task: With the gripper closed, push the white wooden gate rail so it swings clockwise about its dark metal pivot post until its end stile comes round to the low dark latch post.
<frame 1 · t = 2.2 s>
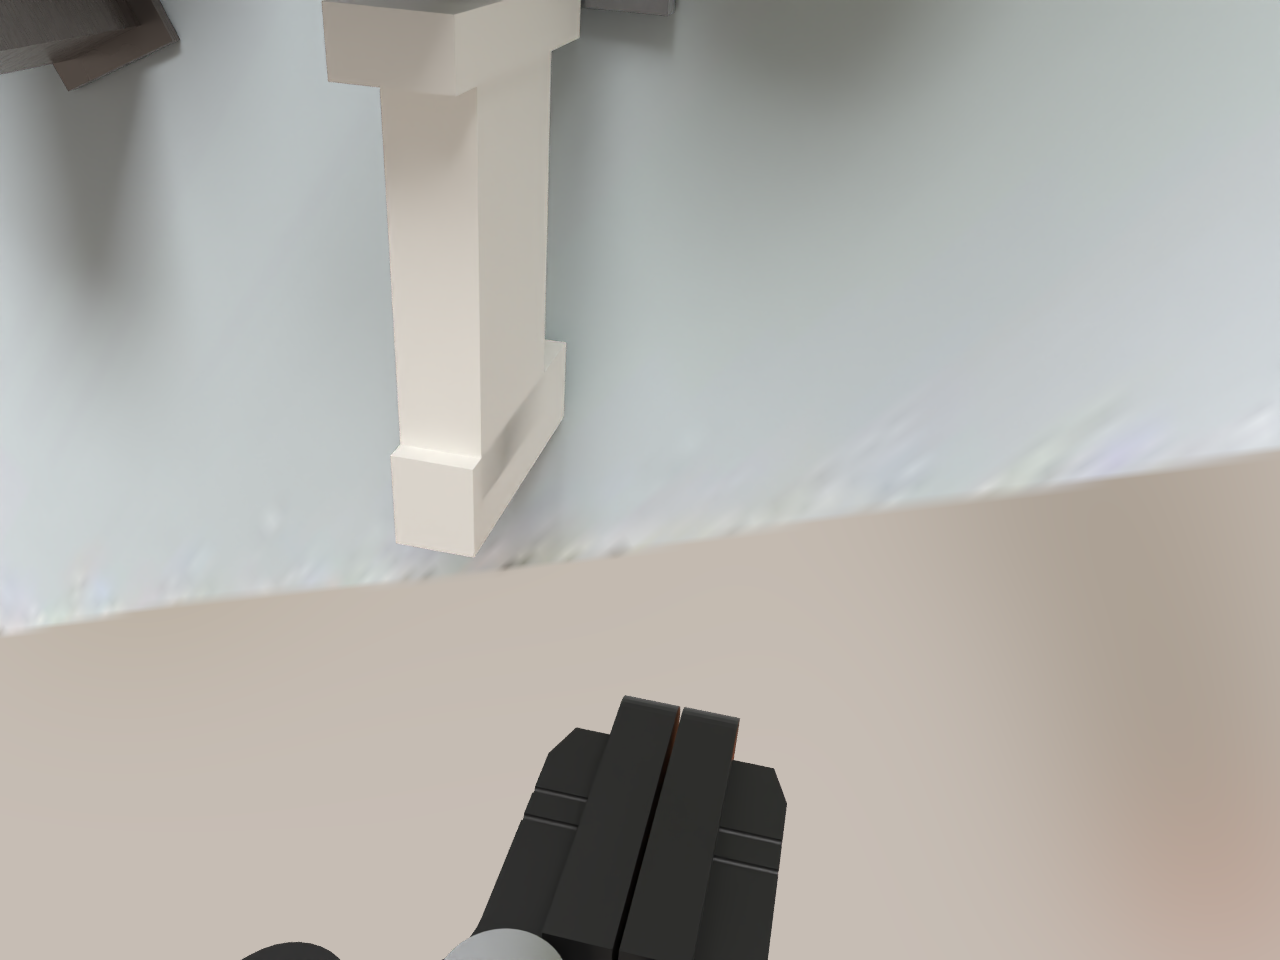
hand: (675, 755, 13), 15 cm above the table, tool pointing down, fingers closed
gate: (479, 265, 22), point 5 cm above the table, hinge at 0.0°
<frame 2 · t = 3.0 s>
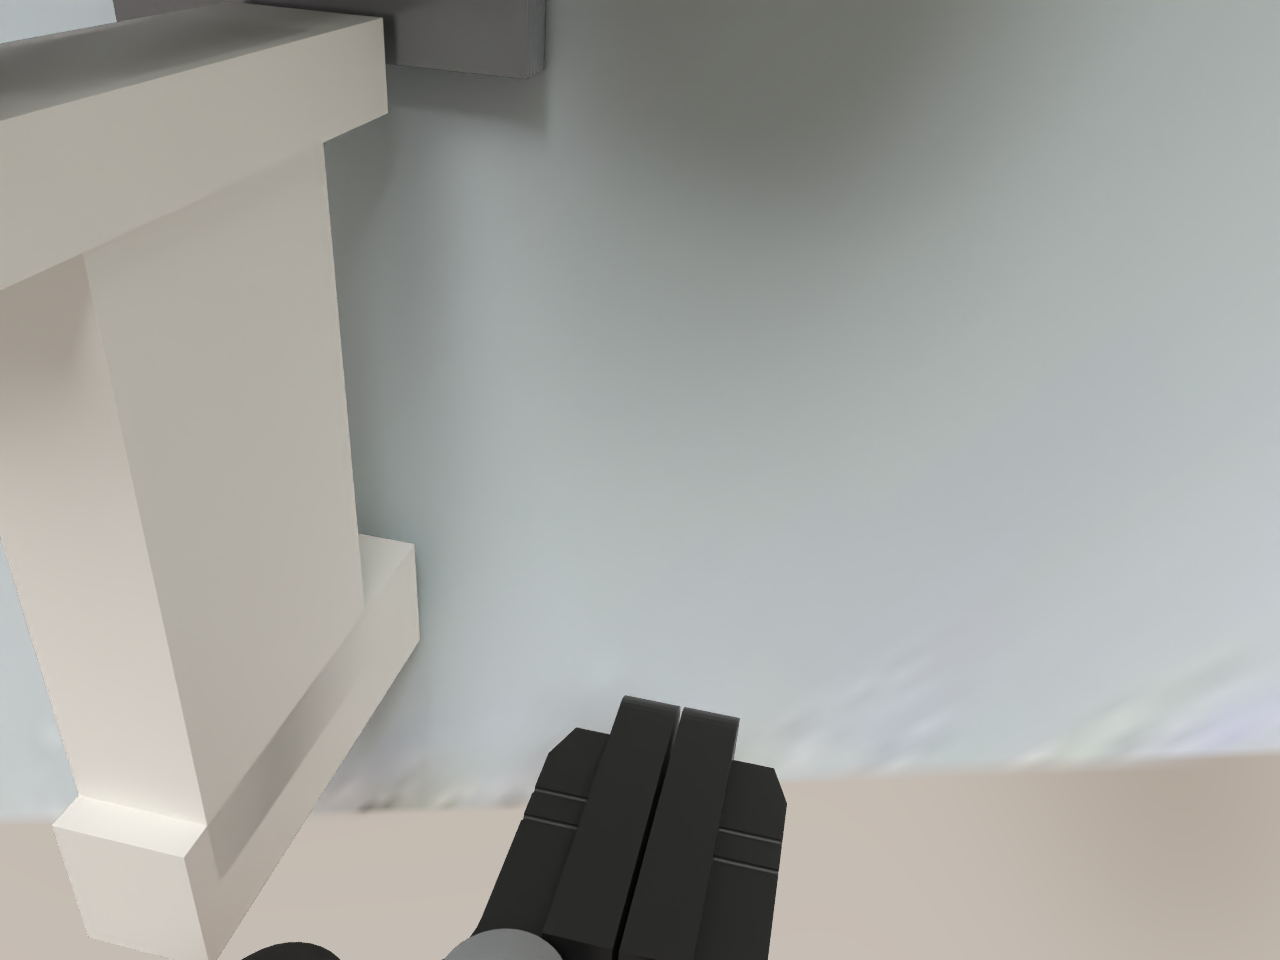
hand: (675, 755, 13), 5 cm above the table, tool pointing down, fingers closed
gate: (215, 492, 14), point 5 cm above the table, hinge at 0.0°
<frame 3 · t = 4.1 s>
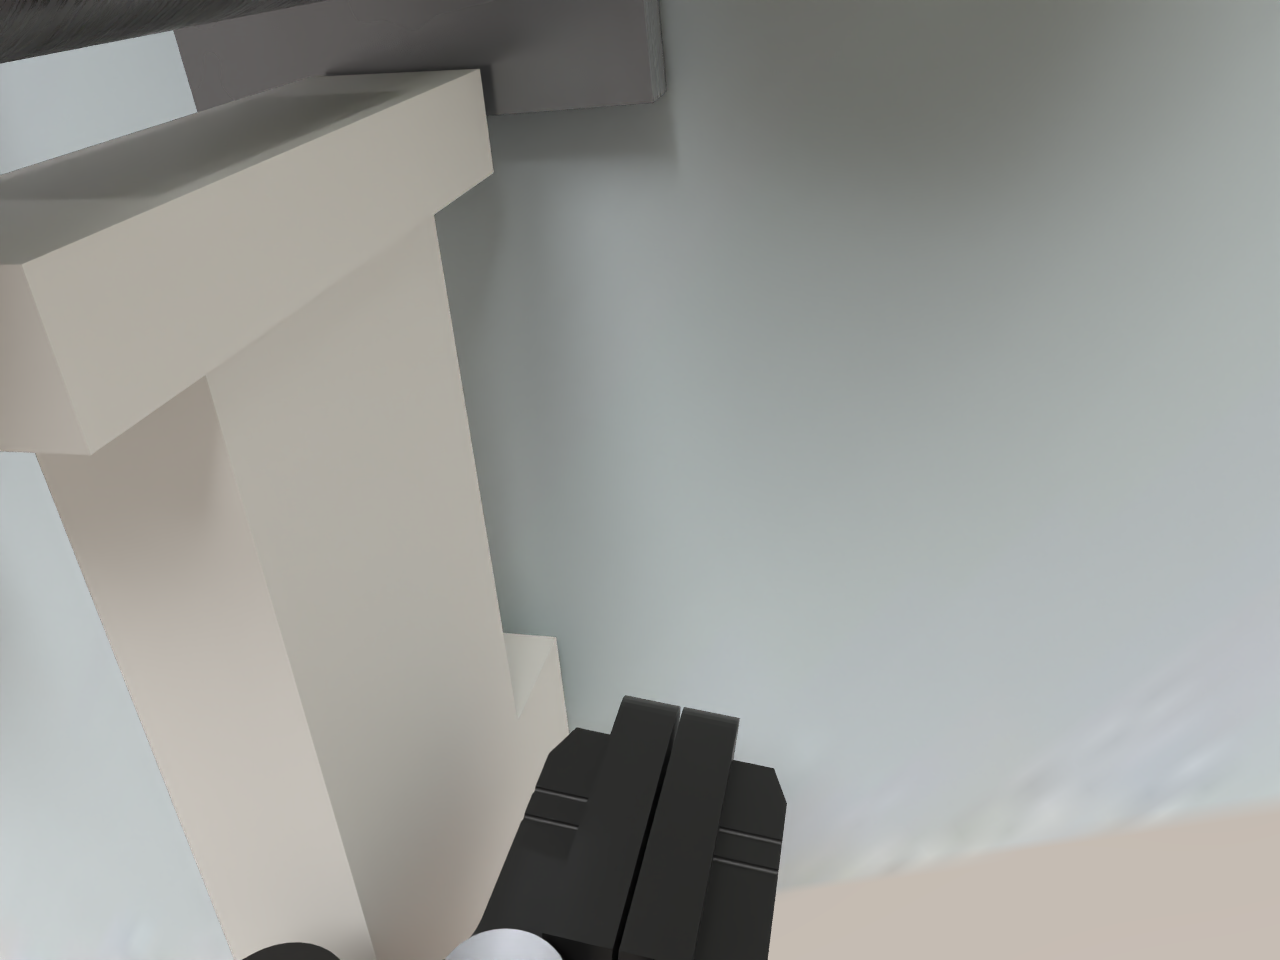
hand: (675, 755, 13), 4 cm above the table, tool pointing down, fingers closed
gate: (355, 617, 12), point 5 cm above the table, hinge at -2.2°, touching gripper
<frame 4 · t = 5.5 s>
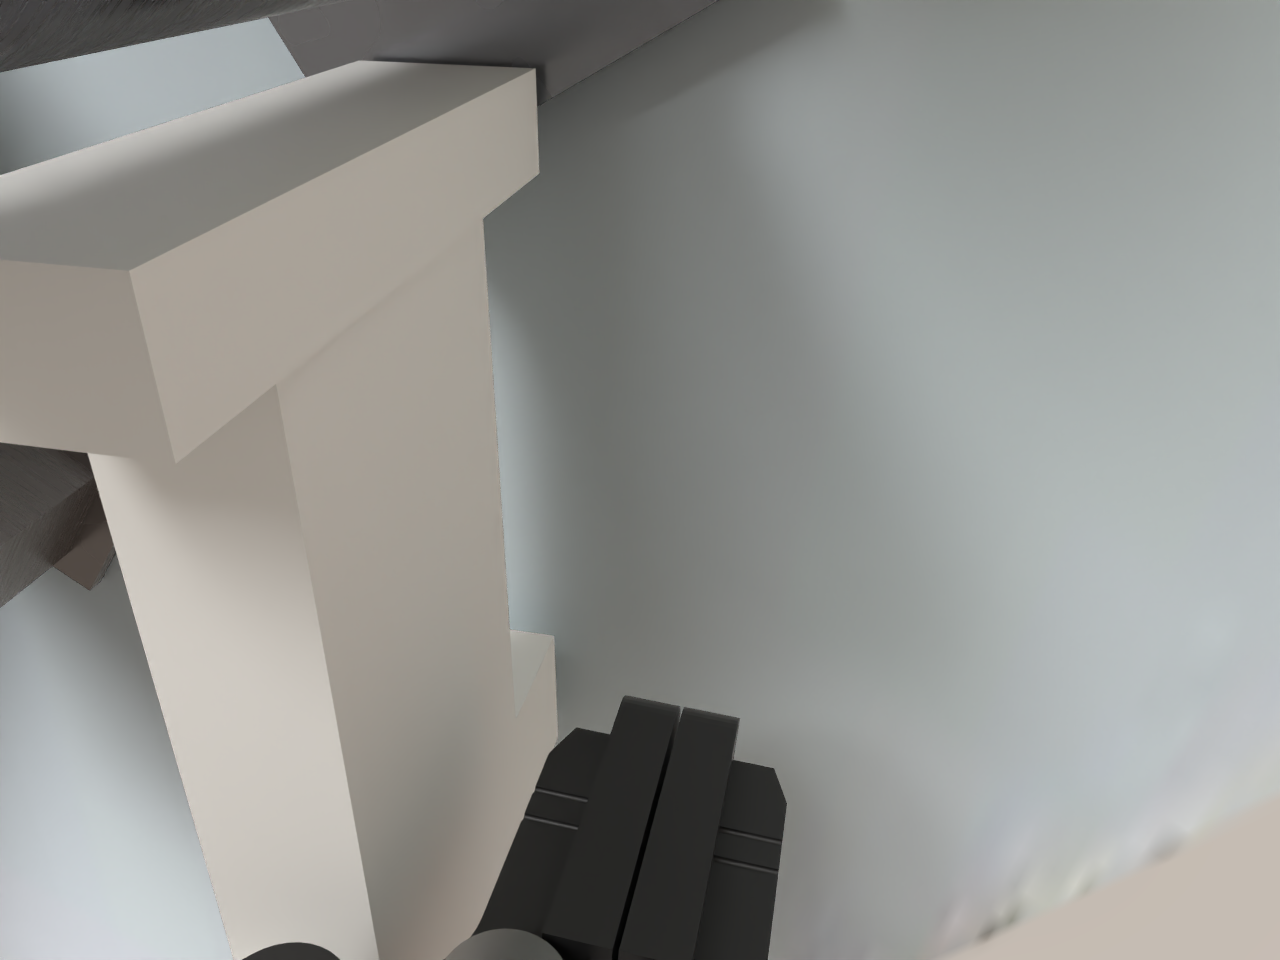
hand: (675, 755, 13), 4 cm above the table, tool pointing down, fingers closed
latch post: (42, 459, 18), on the table
gate: (372, 613, 12), point 4 cm above the table, hinge at -29.8°, touching gripper
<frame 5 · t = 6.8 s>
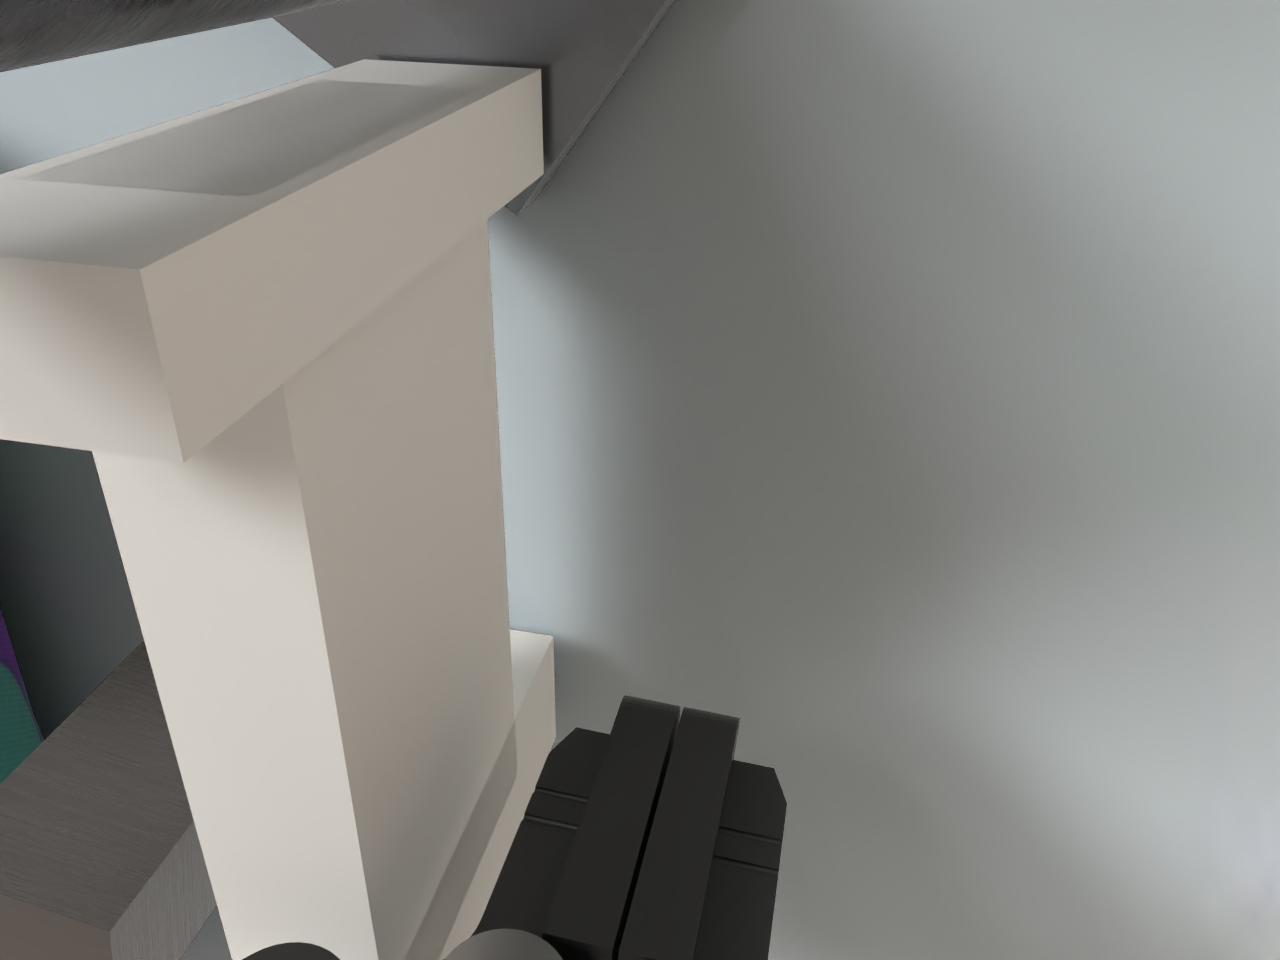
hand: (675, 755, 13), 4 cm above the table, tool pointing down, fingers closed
latch post: (305, 615, 18), on the table
gate: (373, 612, 12), point 4 cm above the table, hinge at -54.1°, touching gripper
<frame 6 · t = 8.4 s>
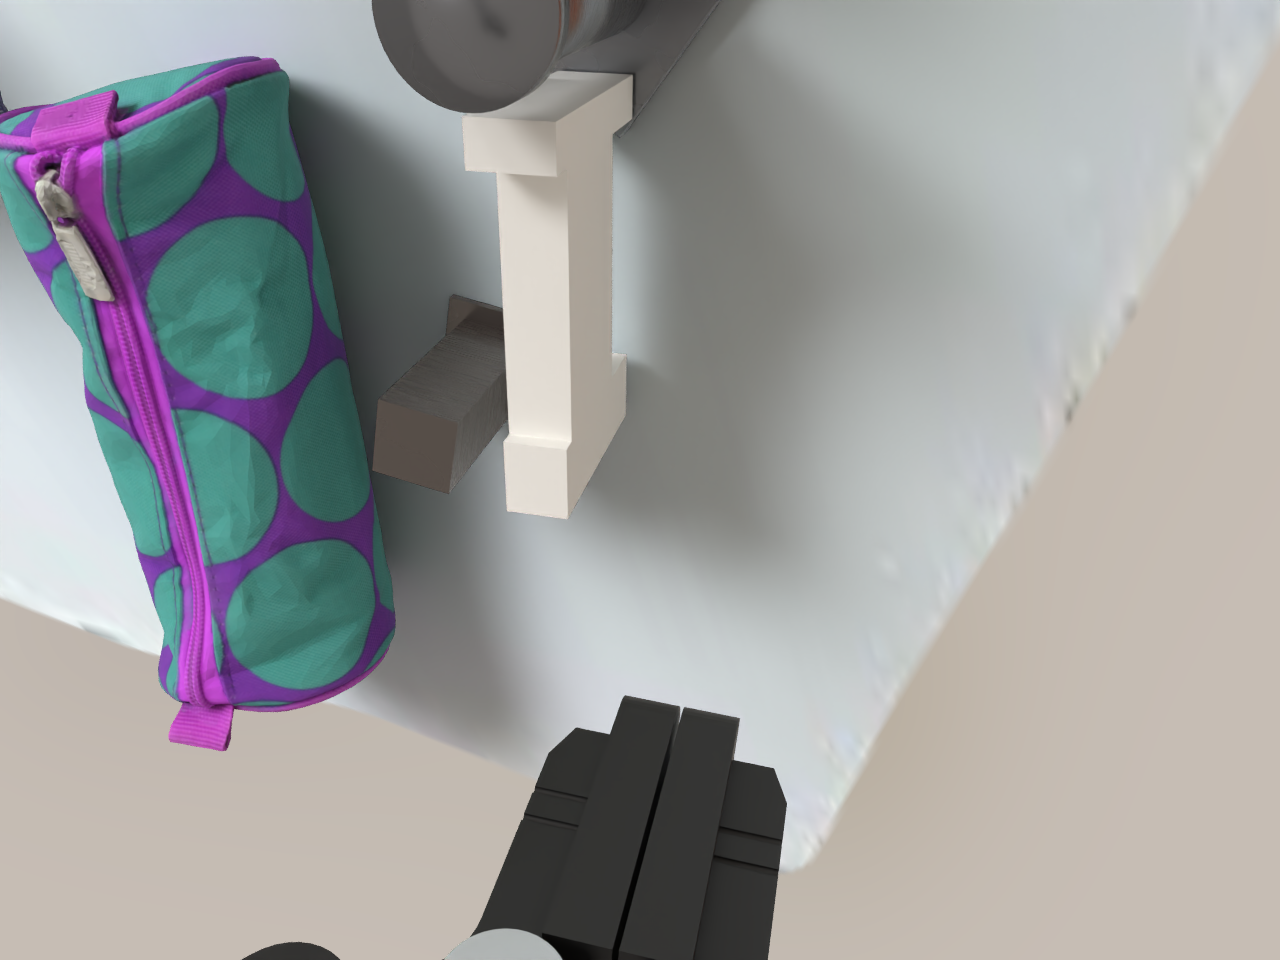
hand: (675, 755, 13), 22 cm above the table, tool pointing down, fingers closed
latch post: (496, 356, 36), on the table
gate: (563, 295, 29), point 4 cm above the table, hinge at -54.2°
pencil case: (291, 352, 38), on the table
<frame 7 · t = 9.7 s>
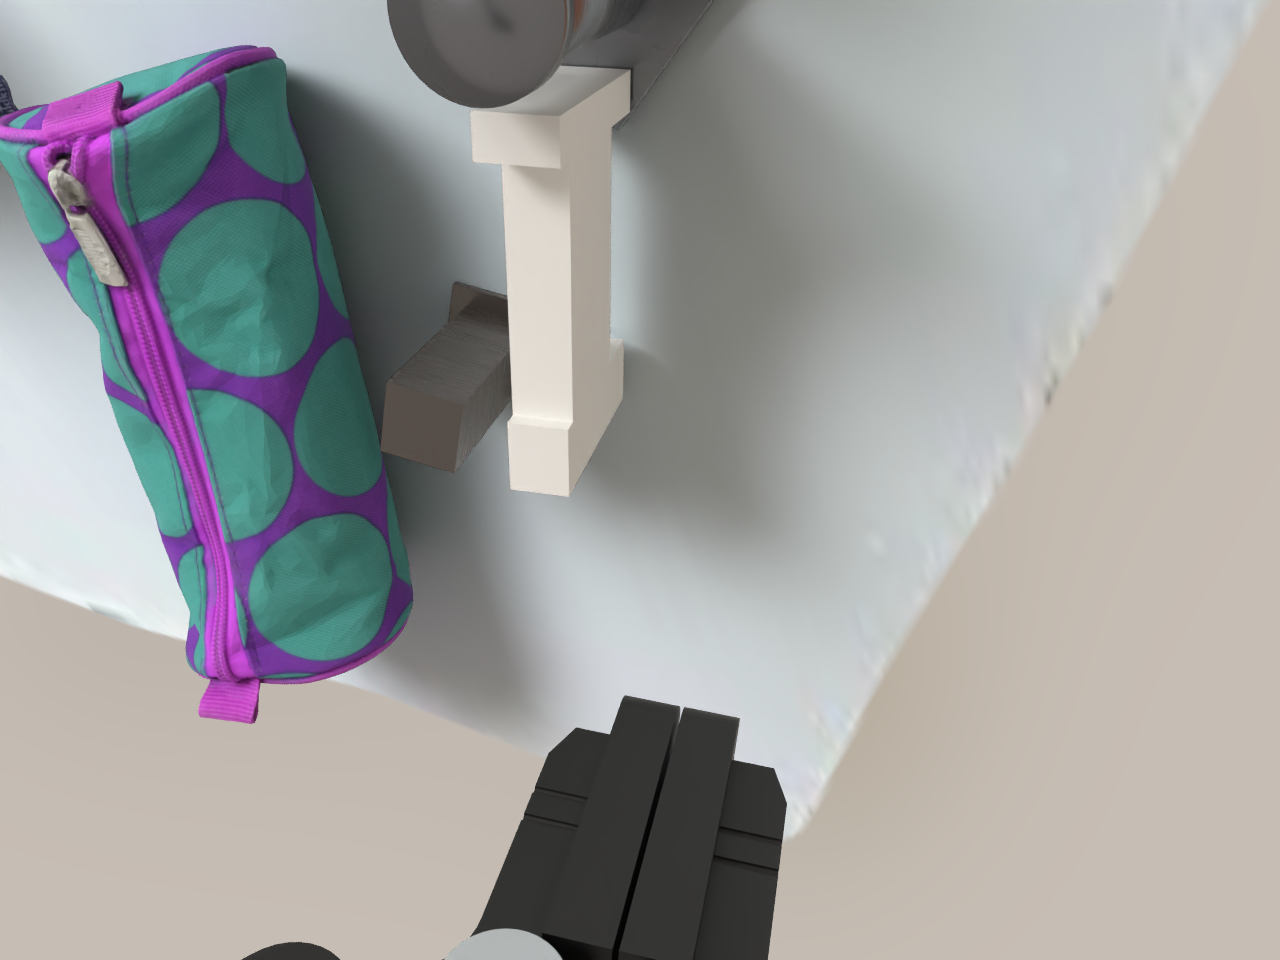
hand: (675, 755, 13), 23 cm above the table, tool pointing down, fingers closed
latch post: (497, 342, 37), on the table
gate: (564, 282, 30), point 5 cm above the table, hinge at -54.2°
pencil case: (300, 337, 39), on the table
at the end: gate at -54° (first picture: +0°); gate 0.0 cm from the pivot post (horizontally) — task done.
